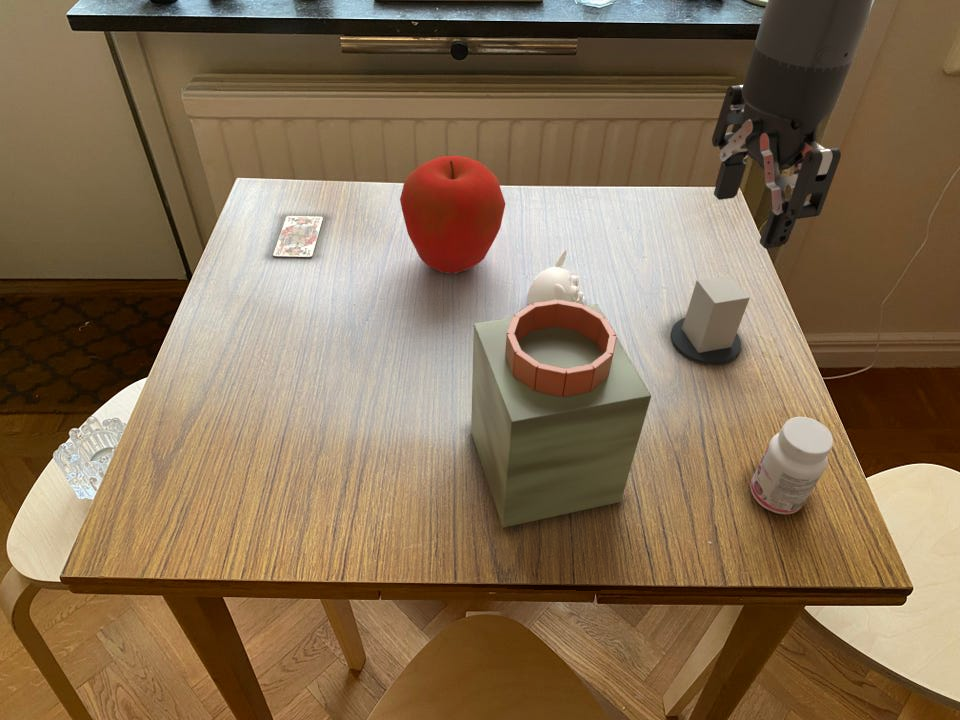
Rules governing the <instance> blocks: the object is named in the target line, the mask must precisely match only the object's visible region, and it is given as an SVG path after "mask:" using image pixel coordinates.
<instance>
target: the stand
mask: <svg viewBox="0 0 960 720" xmlns="http://www.w3.org/2000/svg"><path fill="white" fill-rule="evenodd" d="M587 306H588V307H590V308H591V309H593V310H595V311H596V312H598V313H600V314H601V315H603V316H605V314H604V313H603V311H602V309H601V307H600V306H599V304H597V303H596V304H590V305H589V304H588V305H587ZM511 319H512V317H506V318H500V319H493V320H488V321H481V322H475V323H473V336H472V338H473V339H472V375H471V376H472V380H471V417H470V420H471V421H470V424H471V425H470V433H471V436H472V439H473V442H474V445H475V448H476V451H477V454H478V458H479V460H480V464H481V467H482V470H483V472H484V473H483V474H484V475H485V480H486V482H487V484H488V488H489V490H490V494H491V497H492V500H493V503H494V506H495V509H496V513H497V515H498V518H499V521H500V524H501V527H502V528H508V527H512V526H513V527H514V526H517V525H521V524H527V523H530V522H536V521H539V520H540V521H541V520H544V519H545V520H546V519H549V518H553V517H558V516H563V515H567V514H572V513H576V512H582V511H586V510H591V509H596V508H599V507H603V506H604V507H605V506H609V505H613V504H617V503H621V502H622V499H623V496H624V494H625V493H624V492H625V489H626V485H627V482H628V479H629V476H630V475H629V474H630V473H631V472H630V471H631V468H632V464H633V461H634V458H635V454H636V451H637V447H638V444H639V440H640V437H641V434H642V430H643V427H644V423H645V420H646V419H645V418H646V416H647V413H648V411H649V406H650V403H651V399H652V393H651V392H650V390H649V389H648V388H647V386H646V384H645V382H644V381H643V379H642V377H641V376H640V374H639V372H638V370H637V369H636V367H635V365H634V364H633V362H632V360H631V359H630V357H629V355H628V353H627V352H626V350H625V348H624V347H623V345H622V343H621V342H620V340H619V338H618V337H617V339H616V344H615V349H614V354H613V359H612V363H611V368H610V372H609V376H608V378H607V379H606V380H605V381H603V382H602V383H601V384H600V385H598V386H597V387H596V388H595V389H593V390H592V391H590V392H588V393H583V394H577V395H572V396H566V397H563V396H562V397H560V396H555V395H550V394H546V393H541V392H536V391H535V390H532V389H531V388H529V387H528V386H526V385H525V384H524V383H522V382H521V381H519V380H518V379H517V378H515V377H514V375H512V373H511V370H510V368H509V365H508V363H507V360H506V358H505V349H506V334H507V330H508V328H509V325H510V322H511ZM518 343H519V346H520V348H521V350H522V351H523V352H525V353H526V354H528V355H529V356H531V357H532V358H534V359H535V360H536V361H538V362H539V363H542V364H546V365H551V366H556V367H561V368H571V367H577V366H583V365H588V364H591V363H592V362H594V361H595V360H596V359H597V358H599V357H600V356H601V355H602V353H601V351H600V349H599V348H598V346H597V344H596V342H594V341H592V340H591V339H589V338H588V337H586V336H585V335H583V334H581V333H580V332H578V331H574V330H569V329H564V328H559V327H550V328H544V329H538V330H533V331H531V332H530V333H529V334H527V335H526V336H524V337H523V338H521V339H520V340H518Z"/></svg>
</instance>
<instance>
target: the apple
mask: <svg viewBox="0 0 960 720" xmlns="http://www.w3.org/2000/svg"><path fill="white" fill-rule="evenodd" d="M399 201H400V206H401V212H402V215H403V216H402V217H403V219H404V225H405V228H406V232H407V235H408V237H409V239H410V241H411V243H412V245H413V248H414V249H415V251H416V253H417V255H418V257H419V258H420V259H421V261H422V262H423V263H424V264H425V265H426V266H428V267H430V268H431V269H434V270H437V271H438V272H441V273H444V274H457V273H458V274H459V273H461V272H465V271H467V270H469V269H471V268H473V267H476V266H477V265H478V264H480V263H481V262H482V261H484V260H485V258H486V256H487V254H488V252H489V250H490V249H491V247H492V245H493V243H494V241H495V240H496V238H497V236H498V234H499V231H500V230H501V226H502V221H503V218H504V212H505V209H506V201H505V198H504V194H503V191H502V189H501V186H500V182H499V179H498V177H497V176H496V175H495V174H494V173H493V172H492V171H491V170H489V168H488V167H486V166H485V165H484V164H483V163H481V162H480V161H478V160H475V159H472V158H470V157H465V156H460V155H446V156H445V155H442V156H439V157H435V158H433V159H429V160H427V161H426V162H424V163H421V164H420V165H419V166H417V168H415V169H414V170H413V171H412V172H410V173H409V175H408V176H407V178H406V179H405V181H404V182H403V187H402V189H401V194H400V198H399Z"/></svg>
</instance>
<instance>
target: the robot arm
mask: <svg viewBox="0 0 960 720" xmlns="http://www.w3.org/2000/svg"><path fill="white" fill-rule="evenodd" d="M873 1H874V0H767V3H766V5H765V8H764V11H763V14H762V18H761V22H760V24H759V28H758V31H757V34H756V35H757V36H756V39H755V42H754V45H753V48H752V52H751V55H750V59H749V63H748V67H747V69H746V73H745V76H744V79H743V84H737V85H729V86H728V87H727V89H726V92H725V96H724V99H723V102H722V105H721V109H720V112H719V115H718V117H717V121H716V124H715V128H714V131H713V134H712V137H711V143H712V146H713V147H714V148H717V147H718V148H719V154H718V155H719V160H720V162H721V163H720V167H719V170H718V174H717V178H716V181H715V186H714V191H713V195H714V197H716V199H717V200H719V201H720V200H721V201H723V200H729V199H734V198H735V197H736V196H737V195H738V192H739V189H740V186H741V183H742V179H743V177H744V173H745V170H746V167H747V163H746V162H745V160H746V159H748V158H750V159H752V160H754V161H756V162H757V163H758V165H759V167H760V168H761V169H762V170H763V171H764V179H765V180H764V181H765V185H766V187H767V188H768V189H770V191H771V203H772V209H770V210H769V213H768V216H767V219H766V222H765V225H764V227H763V230H762V232H761V236H760V237H759V238H760V239H759V244H760V245H761V246H762V247H763V248H764V249H765V250H766V249H773V248H779V247H782V246H783V245H786V244H787V243H788V241H789V239H790V236H791V234H792V231H793V229H794V227H795V224H796V221H797V220H799V219H806V218H813V217H818V216H820V214H822V213H821V212H822V210H823V207H824V205H825V201H826V199H827V196H828V193H829V191H830V188H831V185H832V182H833V180H834V177H835V174H836V172H837V168H838V165H839V164H840V160H841V157H842V154H841V150H840V149H839V148H838V147H831V148H826V147H824V146H823V145H821V144H819V143H818V142H817V141H818V129H819V126H820V124H821V122H822V121H824V119H825V118H826V117H828V115H830V114H831V113H832V112H833V111H834V109H835V107H836V105H837V103H838V100H839V98H840V95H841V92H842V90H843V87H844V84H845V82H846V80H847V77H848V75H849V72H850V69H851V67H852V64H853V61H854V58H855V56H856V53H857V51H858V49H859V45H860V44H861V41H862V38H863V35H864V34H865V31H866V27H867V24H868V21H869V18H870V13H871V8H872V5H873ZM732 125H733V126H732ZM729 126H732V128H731V129H732V130H731V132H727V131H728V128H729ZM792 167H793V174H791V175H785V176H784V175H781V173H780V171H786V170H788V169H791V168H792ZM786 186H789V187H790V190H791V191H790V192H791V196H790V198H787V197H786ZM809 195H810V197H809ZM807 197H809V200H807Z"/></svg>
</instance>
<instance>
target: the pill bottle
mask: <svg viewBox="0 0 960 720" xmlns="http://www.w3.org/2000/svg"><path fill="white" fill-rule="evenodd" d="M833 446H834V438H833V435H832V433H831V431H830V430H829V429H828V428H827V427H826V425H825V424H823V423H821V422H820V421H818V420H816V419H814V418H811V417H805V416H795V417H791V418H789V419H787V420H786V421H785V422H784V424H783V425H782V427H781V429H780V430H779V432H777V433H776V434H775V435H774V436H772V438H771V439H770V440H769V443H768V445H767V446H766V448H765V451H764V452H763V455H762V457H761V460H760V462H759V463H758V465H757V467H756V470H755V472H754V473H753V476H752V478H751V480H750V491H751V495H752V497H753V498H754V499H755V501H756V502H757V503H758V504H759V505H760V506H761V507H762V508H764V509H766V510H768V511H770V512H772V513H775V514H779V515H791V514H795V513H797V512H799V511H800V510H801V509H802V508H803V507H804V506H805V504H806V502H807V500H808V498H809V497H810V495H811V493H812V492H813V490H814V488H815V487H816V486H817V484H818V483H819V480H820V478H821V477H822V476H823V475H824V474H823V473H824V472H825V471H826V468H827V466H828V462H829V461H828V460H829V456H828V455H829V453H830V451H831V450H832V449H833Z"/></svg>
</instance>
